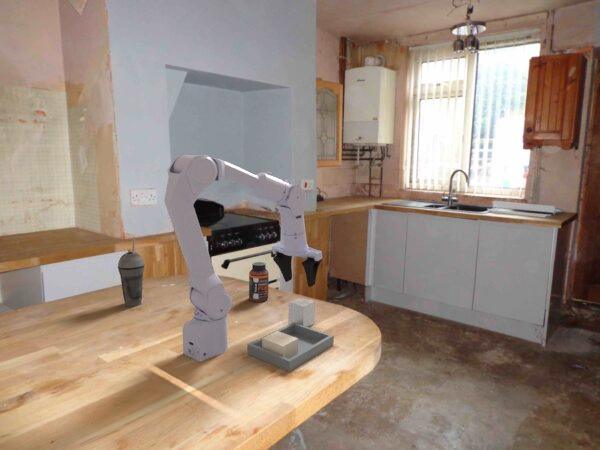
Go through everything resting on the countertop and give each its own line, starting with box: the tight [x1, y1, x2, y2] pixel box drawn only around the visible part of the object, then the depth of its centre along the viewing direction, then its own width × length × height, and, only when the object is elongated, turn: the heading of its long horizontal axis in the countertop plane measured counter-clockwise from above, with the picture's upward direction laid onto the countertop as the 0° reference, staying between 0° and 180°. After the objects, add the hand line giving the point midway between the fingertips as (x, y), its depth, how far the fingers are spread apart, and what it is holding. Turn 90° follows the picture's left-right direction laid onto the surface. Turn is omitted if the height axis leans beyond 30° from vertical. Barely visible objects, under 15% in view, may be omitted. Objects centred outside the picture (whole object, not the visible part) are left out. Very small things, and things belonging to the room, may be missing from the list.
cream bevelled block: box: [261, 330, 298, 359], centre depth 93 cm, size 5×6×4 cm
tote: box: [247, 322, 335, 373], centre depth 96 cm, size 16×12×3 cm
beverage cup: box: [117, 236, 145, 308], centre depth 123 cm, size 7×7×20 cm
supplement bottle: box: [248, 261, 270, 303], centre depth 129 cm, size 6×6×11 cm
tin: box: [287, 296, 316, 328], centre depth 110 cm, size 5×5×7 cm
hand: (299, 282), depth 109 cm, fingers open, 7 cm apart
